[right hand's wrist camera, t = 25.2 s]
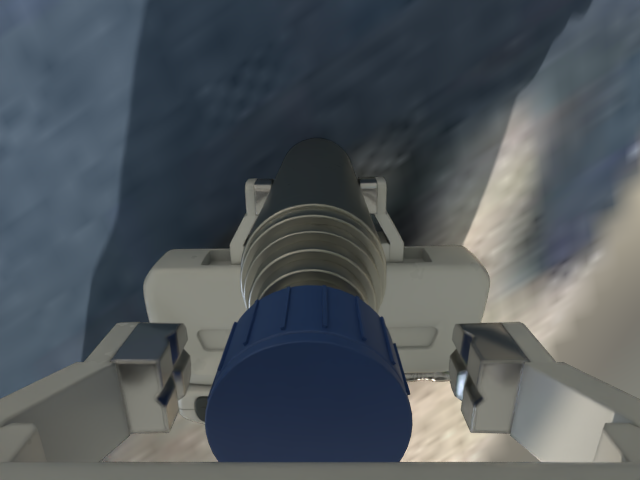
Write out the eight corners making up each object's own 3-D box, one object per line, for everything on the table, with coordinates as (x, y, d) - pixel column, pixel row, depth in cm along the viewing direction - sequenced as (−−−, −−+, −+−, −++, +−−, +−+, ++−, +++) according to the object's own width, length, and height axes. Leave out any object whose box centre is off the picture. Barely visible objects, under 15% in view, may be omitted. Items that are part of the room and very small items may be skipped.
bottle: (280, 136, 29) (176, 291, 8) (354, 138, 29) (446, 297, 8) (281, 208, 30) (196, 489, 10) (350, 209, 30) (418, 493, 10)
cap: (355, 255, 9) (365, 306, 7) (418, 390, 10) (442, 467, 8) (195, 322, 10) (162, 388, 8) (274, 443, 11) (264, 527, 9)
